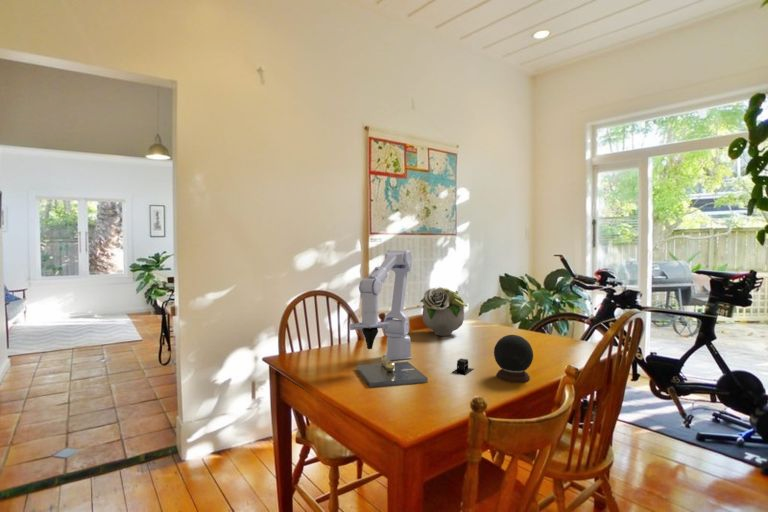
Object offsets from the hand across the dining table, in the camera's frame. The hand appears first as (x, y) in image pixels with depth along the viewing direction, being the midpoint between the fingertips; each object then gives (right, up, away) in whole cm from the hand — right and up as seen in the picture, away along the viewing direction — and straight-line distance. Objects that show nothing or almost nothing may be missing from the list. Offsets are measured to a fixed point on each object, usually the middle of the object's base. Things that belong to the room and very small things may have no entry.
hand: (369, 348), depth 151 cm
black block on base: (+34, -9, +2) cm, 36 cm away
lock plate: (+8, -9, -4) cm, 12 cm away
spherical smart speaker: (+51, -9, -5) cm, 52 cm away
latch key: (+6, -7, -1) cm, 9 cm away
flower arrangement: (+36, -7, +63) cm, 73 cm away
